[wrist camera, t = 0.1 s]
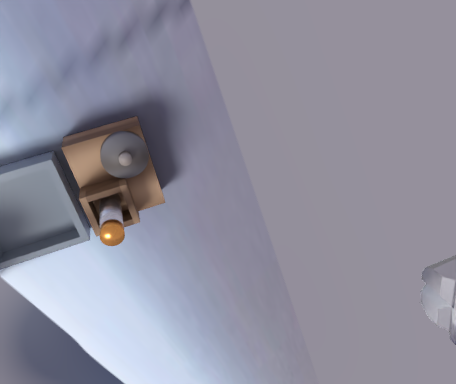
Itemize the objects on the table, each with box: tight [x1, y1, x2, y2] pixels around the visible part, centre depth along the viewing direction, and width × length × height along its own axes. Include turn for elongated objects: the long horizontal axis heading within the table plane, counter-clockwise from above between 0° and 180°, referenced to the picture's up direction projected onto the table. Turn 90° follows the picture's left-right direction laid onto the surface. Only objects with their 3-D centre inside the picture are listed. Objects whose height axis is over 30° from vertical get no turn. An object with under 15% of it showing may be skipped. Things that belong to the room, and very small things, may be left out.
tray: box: [0, 151, 90, 269], centre depth 54 cm, size 13×13×3 cm
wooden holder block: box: [61, 116, 165, 236], centre depth 54 cm, size 12×10×7 cm
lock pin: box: [99, 193, 125, 246], centre depth 51 cm, size 3×3×9 cm
